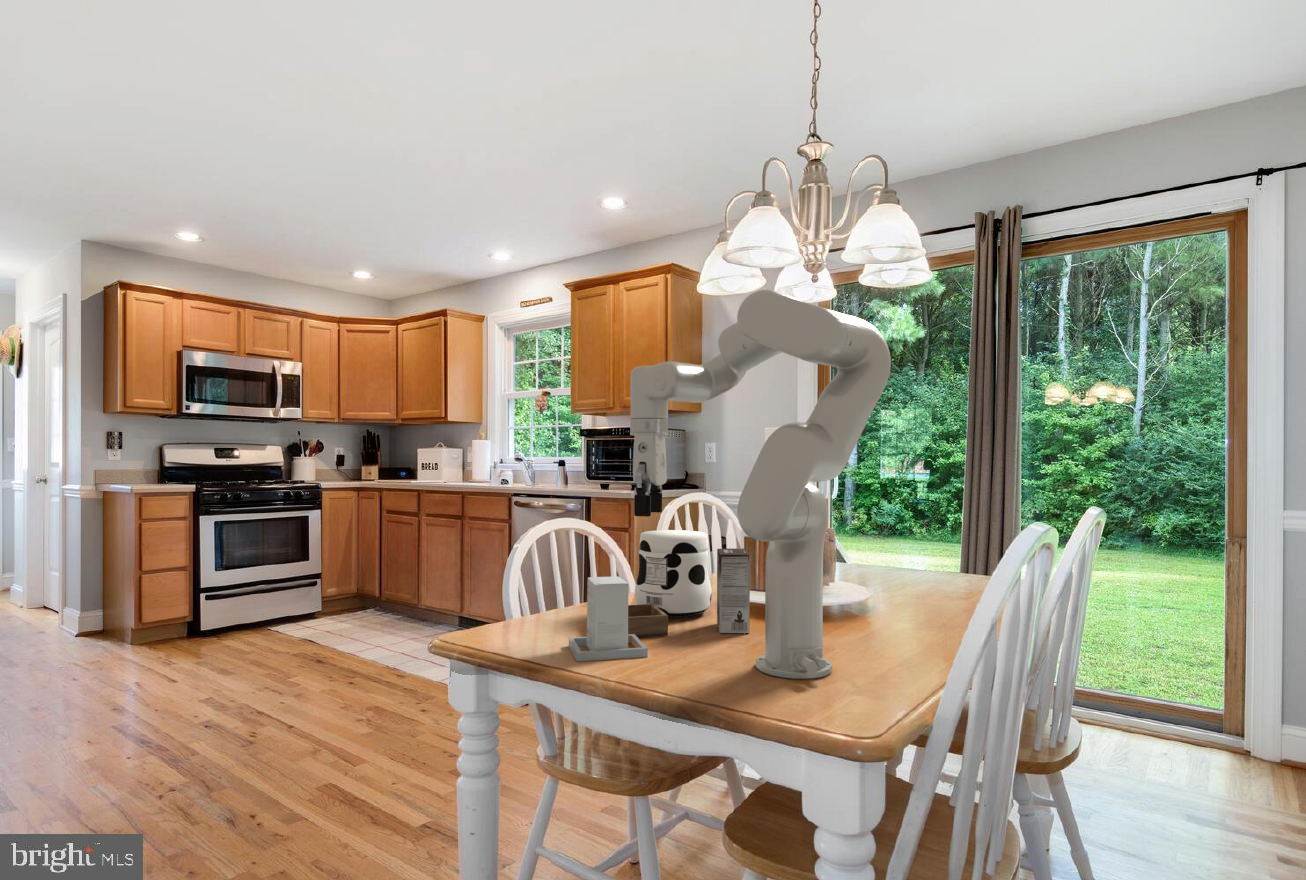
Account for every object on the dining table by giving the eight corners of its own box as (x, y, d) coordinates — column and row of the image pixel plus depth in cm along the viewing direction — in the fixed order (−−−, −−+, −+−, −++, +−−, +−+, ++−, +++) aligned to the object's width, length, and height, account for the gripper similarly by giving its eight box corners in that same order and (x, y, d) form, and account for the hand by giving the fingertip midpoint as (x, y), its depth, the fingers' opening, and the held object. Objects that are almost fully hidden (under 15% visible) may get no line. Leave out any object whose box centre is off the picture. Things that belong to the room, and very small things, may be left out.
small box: (628, 656, 132) (629, 582, 133) (593, 658, 131) (594, 584, 131) (619, 644, 140) (619, 575, 140) (586, 646, 139) (586, 576, 139)
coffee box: (716, 623, 158) (716, 547, 158) (746, 623, 158) (746, 548, 158) (719, 634, 149) (719, 553, 149) (751, 634, 149) (751, 554, 149)
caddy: (667, 636, 147) (668, 615, 147) (605, 639, 144) (605, 618, 144) (653, 622, 158) (653, 603, 158) (594, 625, 155) (595, 606, 155)
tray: (647, 656, 132) (647, 648, 132) (577, 661, 129) (577, 652, 129) (634, 641, 142) (634, 634, 142) (568, 645, 139) (568, 637, 139)
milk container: (703, 604, 177) (704, 529, 178) (718, 621, 160) (719, 537, 160) (631, 606, 175) (631, 529, 176) (638, 622, 158) (639, 538, 158)
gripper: (657, 426, 139) (657, 518, 139) (676, 429, 156) (675, 511, 155) (618, 426, 141) (618, 517, 140) (641, 429, 157) (641, 510, 157)
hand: (648, 514), depth 148 cm, fingers open, 9 cm apart
